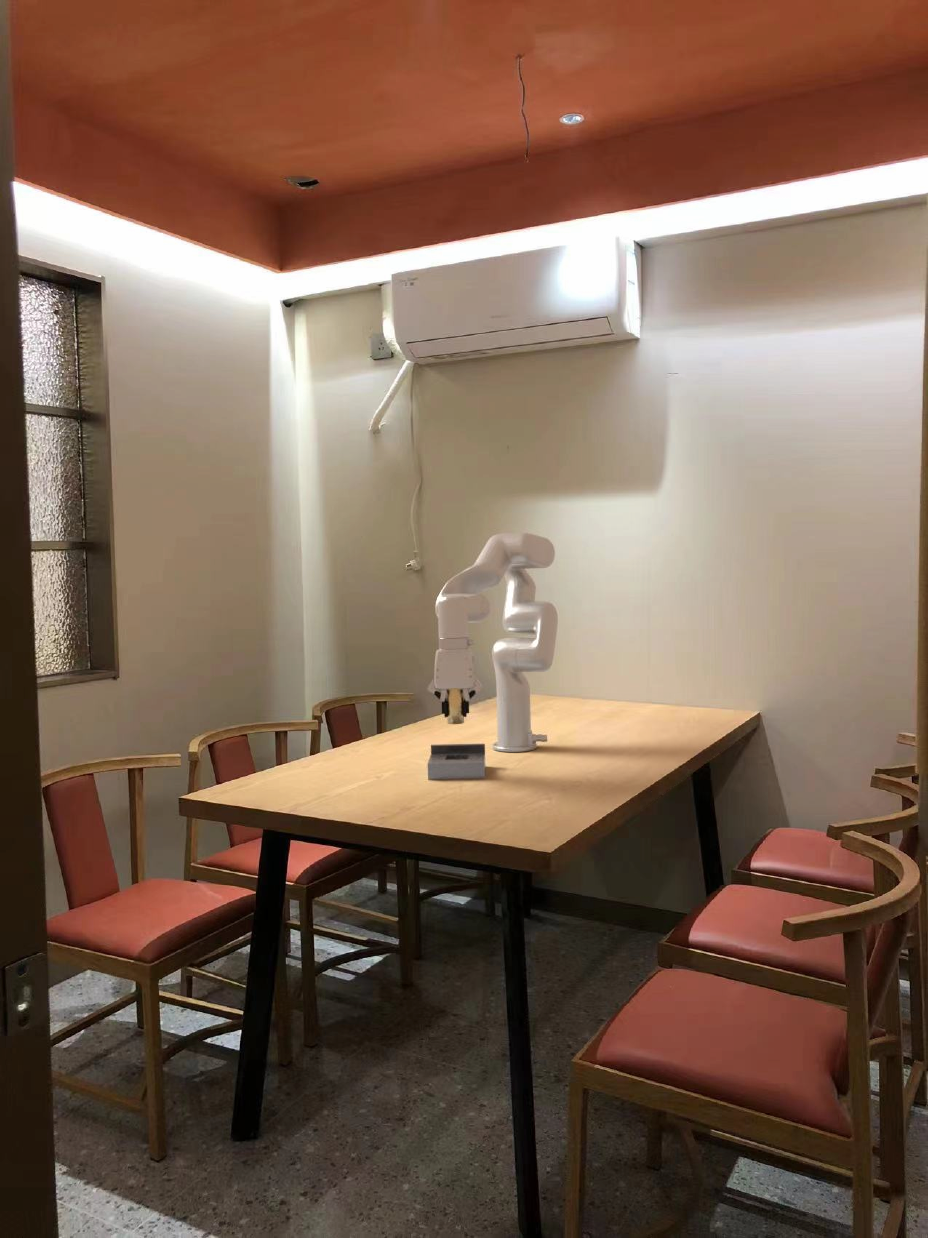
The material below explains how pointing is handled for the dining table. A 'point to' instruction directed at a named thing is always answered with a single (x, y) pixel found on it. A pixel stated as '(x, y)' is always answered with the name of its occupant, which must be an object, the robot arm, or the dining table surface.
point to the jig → (457, 761)
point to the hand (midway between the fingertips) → (455, 715)
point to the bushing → (455, 706)
